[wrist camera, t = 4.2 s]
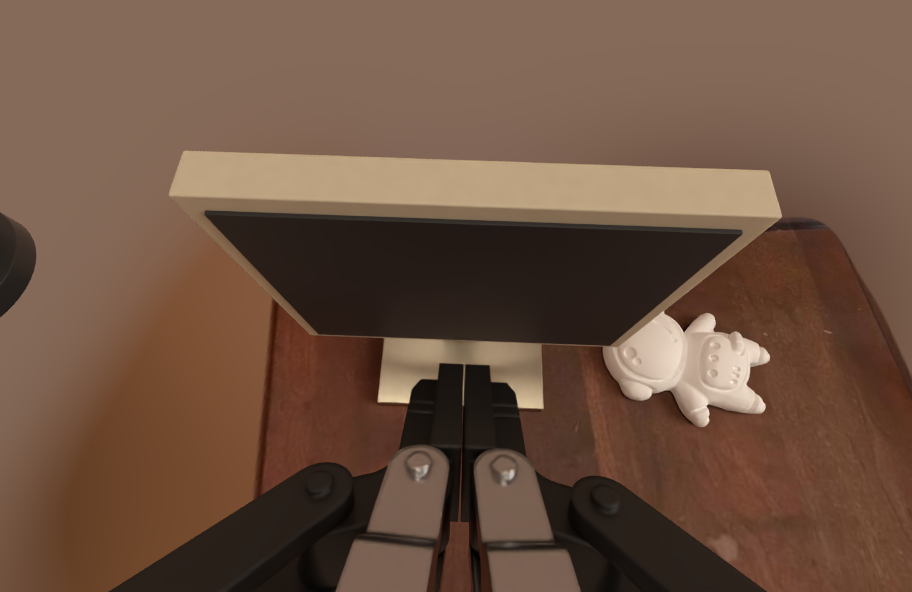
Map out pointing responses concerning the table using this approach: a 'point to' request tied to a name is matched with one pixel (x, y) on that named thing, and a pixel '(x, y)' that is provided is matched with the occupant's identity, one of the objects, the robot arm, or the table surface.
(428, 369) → the monitor stand
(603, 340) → the monitor screen
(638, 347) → the astronaut figurine
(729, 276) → the table surface
